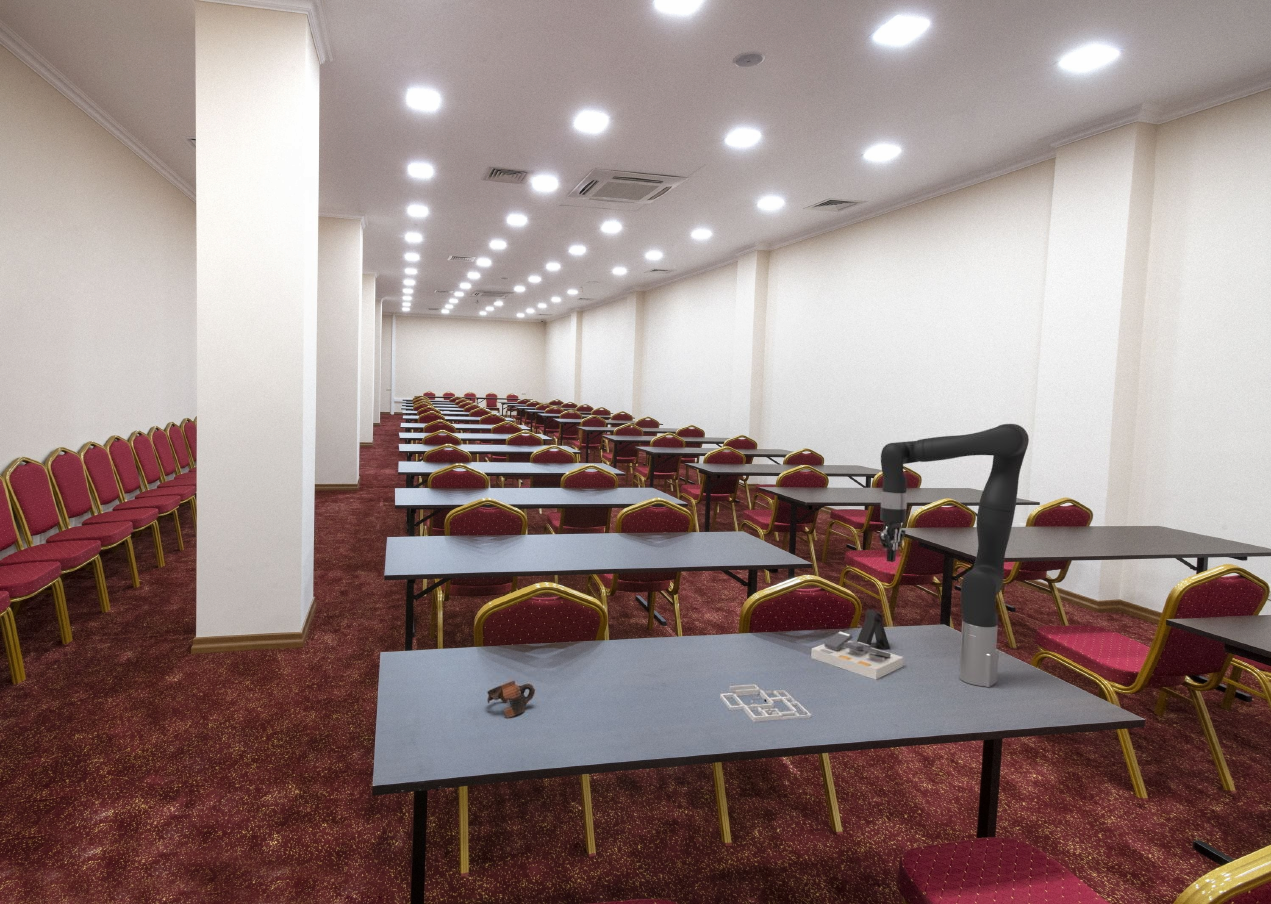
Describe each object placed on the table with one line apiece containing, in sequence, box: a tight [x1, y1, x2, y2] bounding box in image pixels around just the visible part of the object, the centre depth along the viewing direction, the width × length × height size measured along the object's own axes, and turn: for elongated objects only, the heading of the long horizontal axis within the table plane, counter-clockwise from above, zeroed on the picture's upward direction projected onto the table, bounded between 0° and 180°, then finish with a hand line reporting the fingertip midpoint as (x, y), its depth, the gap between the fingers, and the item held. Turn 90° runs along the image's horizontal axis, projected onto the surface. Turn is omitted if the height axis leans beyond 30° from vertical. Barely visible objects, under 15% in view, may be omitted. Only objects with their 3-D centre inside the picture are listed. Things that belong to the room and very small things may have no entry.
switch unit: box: [810, 640, 904, 680], centre depth 214 cm, size 22×16×4 cm
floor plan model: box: [719, 684, 812, 723], centre depth 182 cm, size 19×25×2 cm
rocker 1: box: [823, 630, 853, 650], centre depth 219 cm, size 4×9×1 cm, turn 132°
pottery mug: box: [487, 680, 536, 719], centre depth 177 cm, size 12×10×8 cm
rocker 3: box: [863, 646, 892, 658], centre depth 209 cm, size 4×9×1 cm, turn 132°
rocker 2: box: [843, 641, 871, 650], centre depth 214 cm, size 4×9×1 cm, turn 132°
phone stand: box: [856, 608, 891, 651], centre depth 228 cm, size 9×6×12 cm, turn 97°
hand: (890, 561), depth 217 cm, fingers closed
